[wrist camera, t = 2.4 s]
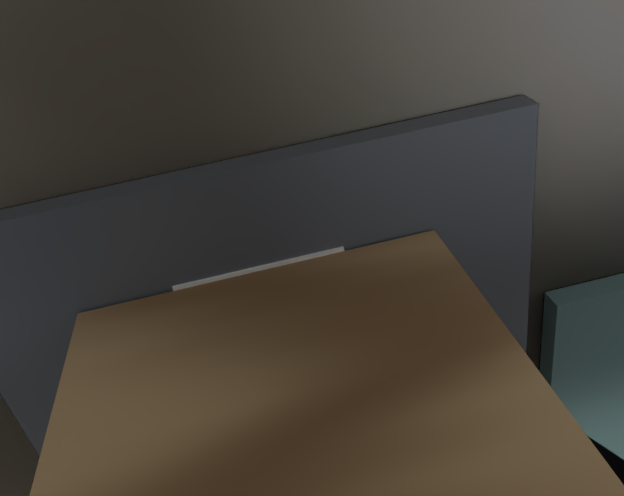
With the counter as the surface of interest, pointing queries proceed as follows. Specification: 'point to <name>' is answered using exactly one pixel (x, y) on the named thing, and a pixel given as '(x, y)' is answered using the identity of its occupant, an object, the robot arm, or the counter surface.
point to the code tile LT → (267, 229)
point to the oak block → (314, 390)
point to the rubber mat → (588, 356)
